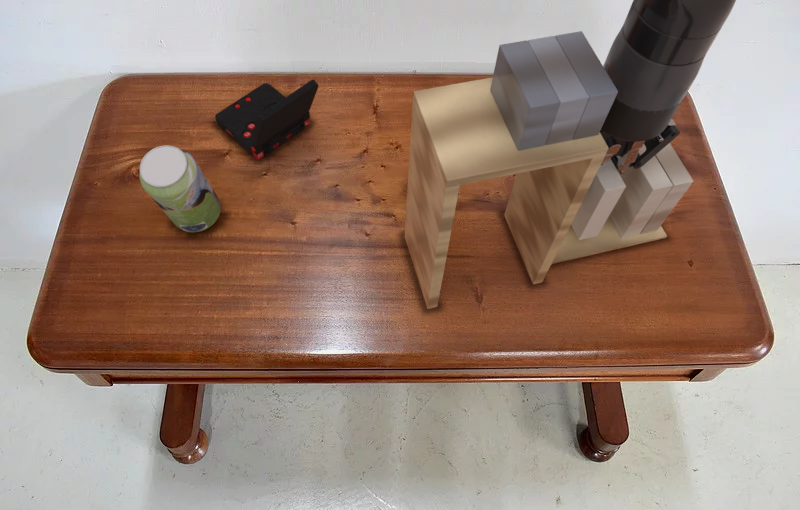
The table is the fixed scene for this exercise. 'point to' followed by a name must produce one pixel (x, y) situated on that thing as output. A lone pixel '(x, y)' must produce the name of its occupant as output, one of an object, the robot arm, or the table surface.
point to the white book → (598, 202)
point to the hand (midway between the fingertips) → (588, 190)
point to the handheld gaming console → (267, 117)
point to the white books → (636, 207)
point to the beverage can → (179, 188)
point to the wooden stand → (509, 149)
